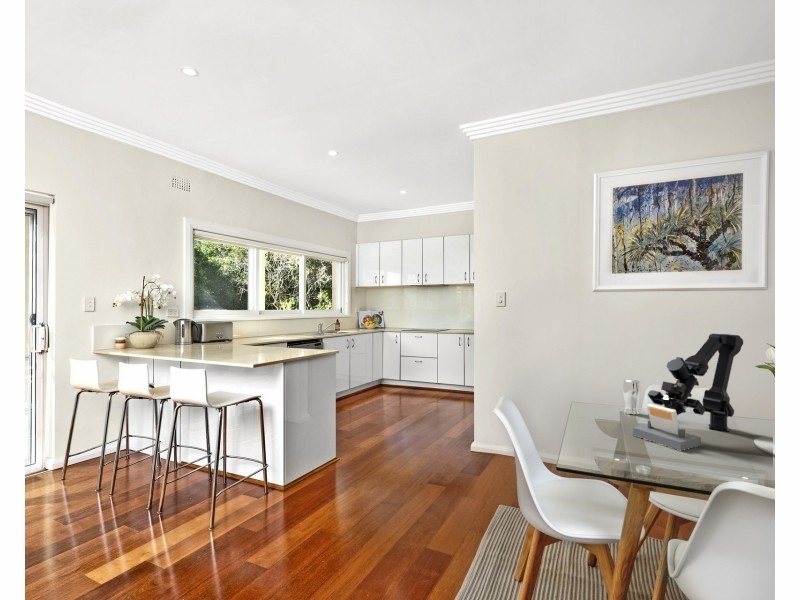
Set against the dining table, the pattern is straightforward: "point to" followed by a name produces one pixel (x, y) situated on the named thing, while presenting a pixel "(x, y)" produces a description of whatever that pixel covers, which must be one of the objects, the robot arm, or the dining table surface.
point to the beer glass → (631, 395)
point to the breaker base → (668, 437)
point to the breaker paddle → (663, 418)
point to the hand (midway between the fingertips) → (665, 419)
